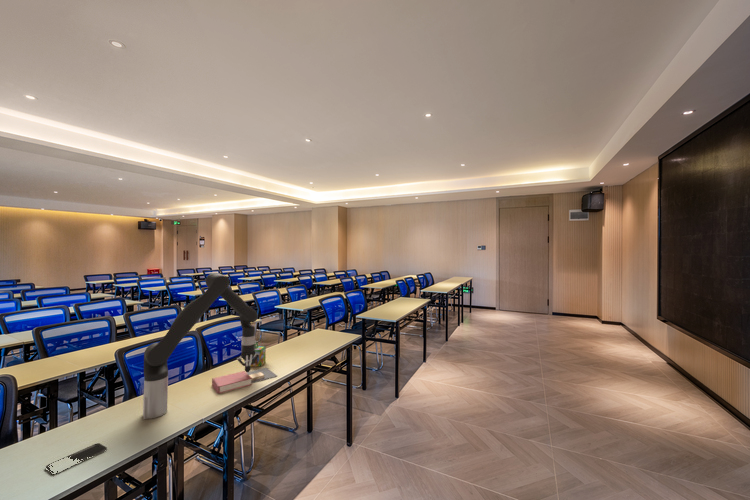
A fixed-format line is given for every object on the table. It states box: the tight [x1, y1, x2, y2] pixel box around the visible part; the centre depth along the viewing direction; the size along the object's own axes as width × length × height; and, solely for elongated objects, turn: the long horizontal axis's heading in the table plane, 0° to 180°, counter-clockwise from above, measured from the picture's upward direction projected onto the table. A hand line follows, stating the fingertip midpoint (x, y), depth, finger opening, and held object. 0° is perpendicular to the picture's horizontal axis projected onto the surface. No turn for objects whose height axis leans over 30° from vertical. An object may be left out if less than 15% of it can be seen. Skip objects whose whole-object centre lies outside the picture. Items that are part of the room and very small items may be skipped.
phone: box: [45, 443, 108, 473], centre depth 110 cm, size 8×1×15 cm
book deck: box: [211, 370, 253, 395], centre depth 173 cm, size 18×14×4 cm
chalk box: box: [250, 342, 267, 368], centre depth 207 cm, size 9×9×15 cm
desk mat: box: [245, 367, 278, 384], centre depth 188 cm, size 16×18×1 cm
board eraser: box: [249, 372, 264, 382], centre depth 182 cm, size 9×6×2 cm, turn 131°
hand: (247, 371), depth 179 cm, fingers closed
